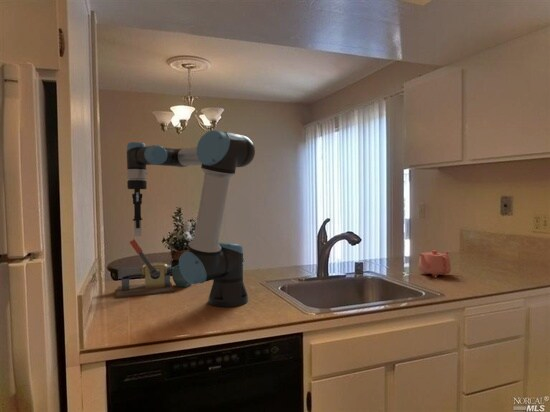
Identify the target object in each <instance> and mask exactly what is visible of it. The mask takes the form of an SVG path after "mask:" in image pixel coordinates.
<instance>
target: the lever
mask: <svg viewBox="0 0 550 412" xmlns="http://www.w3.org/2000/svg"><path fill="white" fill-rule="evenodd" d="M129 244H130V245H131V247H132V249H133V250H134V251H135V252H136V254H137V255H139V257H140V258H141V259H142V261H143V263H144V265H145V264H146V265H147V267H148V268H149V270H150V271H151V273H150V276H151V278H152V279H158V278H159V277H160V271H159V270H157V269H154V268H153V266H152V265H151V264H150V263H151V262H150V261H149V259H148V258H147V256H146V255H145V253H144V252H143V249H142V247H141V246H140V244H138V242H137V241H136V239H135V238H133V239H131V240H130V241H129Z"/></svg>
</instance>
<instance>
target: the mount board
mask: <svg viewBox="0 0 550 412" xmlns="http://www.w3.org/2000/svg"><path fill="white" fill-rule="evenodd" d="M116 288H117V289H116V295H115V299H120V298H124V299H125V298H131V297H132V298H133V297H140V296H141V297H143V296H150V295H161V294H171V293H175V289H174V286H173V285H172V281H170V286H166V287H162V288H151V289H145V283H143V284H130V289H129V290H125V291H122V285H119V286H117V287H116Z"/></svg>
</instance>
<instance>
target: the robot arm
mask: <svg viewBox="0 0 550 412" xmlns="http://www.w3.org/2000/svg"><path fill="white" fill-rule="evenodd" d="M255 148H256V147H255V145H254V143H253V141H252V140H251V139H250V138H249V137H248V136H245V135H243V134H238V133H234V132H233V133H232V132H227V131H224V130H215V129H213V130H209V131H207V132H205V133H204V134H202V136H201V137H200V139H199V140H198V143H197V145H196V146H192V147H184V148H183V147H182V148H170V147H163V146H162V145H159V144H157V145H156V144H153V145H146V143H144V142H137V141H135V142H128V143H127V144H126V168H127V169H126V176H127V177H126V179H127V181H126V182H127V189H128V190H133V192H134V193H131V195H132V204H133V205H134V206H133V209H134V211H133V212H134V217H133V219H132V221H133V222H134V223H133V225H134V227H133V228H134V236H133V237H142V221H143V218H142V217H141V216H142V214H141V212H142V211H141V210H142V208H141V207H142V203H143V193H141V190H147V185H148V183H147V180H146V179H147V175H148V174H149V172H147V166H163V167H177V168H185V167H186V168H187V167H188V166H189V167H190V166H200V168H201V170H202V171H203V174H204V176H203V177H204V178H203V182H202V187H201V189H202V190H201V194H200V200H199V201H200V202H199V205H198V206H199V207H198V212H197V213H198V214H197V218H196V219H197V220H196V224H195V231H194V238H193V240H191V241H190V242H189V243H188V247H187V251H184V252H183V253H182V254H181V255H180V257H179V259H178V265H179V269H180V272H181V274H182V276H183V278H184V279H185V280H186V281H187V282H189V283H191V285H197V284H204V283H206V282H209V281H212V285H211V288H210V292H209V296H208V303H209V304H210V305H211V306H214V307H219V308H220V307H221V308H229V307H230V308H231V307H238V306H242V305H245V304H246V303H248V300H249V299H248V297H249V296H248V292H247V289H246V286H245V282H244V252H243V251H244V250H243V246H242V245H241V244H240V243H234V242H233V243H232V242H220V241H219V240H220V236H221V235H220V234H221V230H222V229H221V228H222V224H223V219H224V218H223V216H224V212H225V206H226V200H227V196H228V195H227V194H228V190H229V183H230V179H231V177H233V176H234V175H235V173H236V169H237V168H244V167H247V166H248V165H249V164H251V163H252V162H253V161H254V158H255V155H256V149H255Z"/></svg>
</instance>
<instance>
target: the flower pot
mask: <svg viewBox="0 0 550 412" xmlns="http://www.w3.org/2000/svg"><path fill="white" fill-rule="evenodd" d="M171 277H172V281H173V283H174V284H175V286H176V287H178V288H179V287H182V288H183V287H185V288H187V287H189V286H190V285H192V284H191V283H189V282H187V281H186V280H185V279H184V278H183V276H182V274H181V272H180V269H179V264H177V265H175V266H173V267H171Z"/></svg>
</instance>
